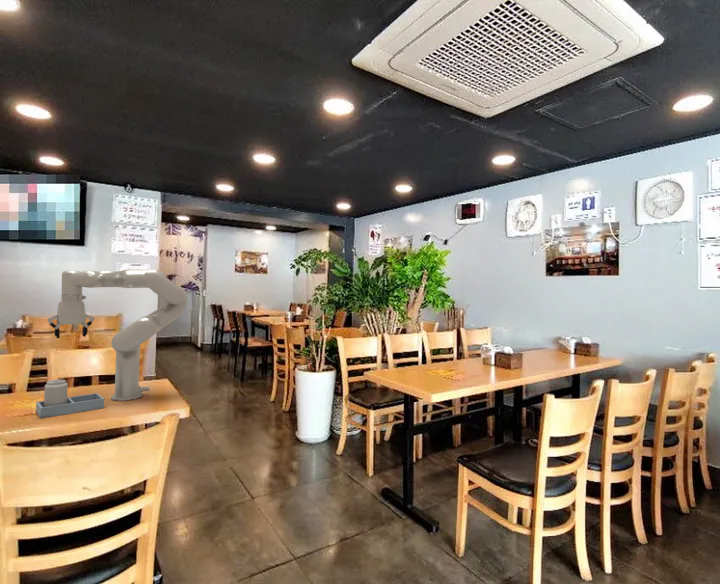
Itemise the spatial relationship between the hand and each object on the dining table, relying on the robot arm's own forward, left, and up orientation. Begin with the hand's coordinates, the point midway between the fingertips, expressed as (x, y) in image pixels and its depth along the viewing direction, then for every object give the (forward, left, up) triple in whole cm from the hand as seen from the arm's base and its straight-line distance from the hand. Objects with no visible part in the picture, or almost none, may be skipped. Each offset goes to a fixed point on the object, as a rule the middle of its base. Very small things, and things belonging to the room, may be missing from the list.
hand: (71, 337), depth 181 cm
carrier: (+2, +16, -28) cm, 32 cm away
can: (+8, +16, -28) cm, 33 cm away
